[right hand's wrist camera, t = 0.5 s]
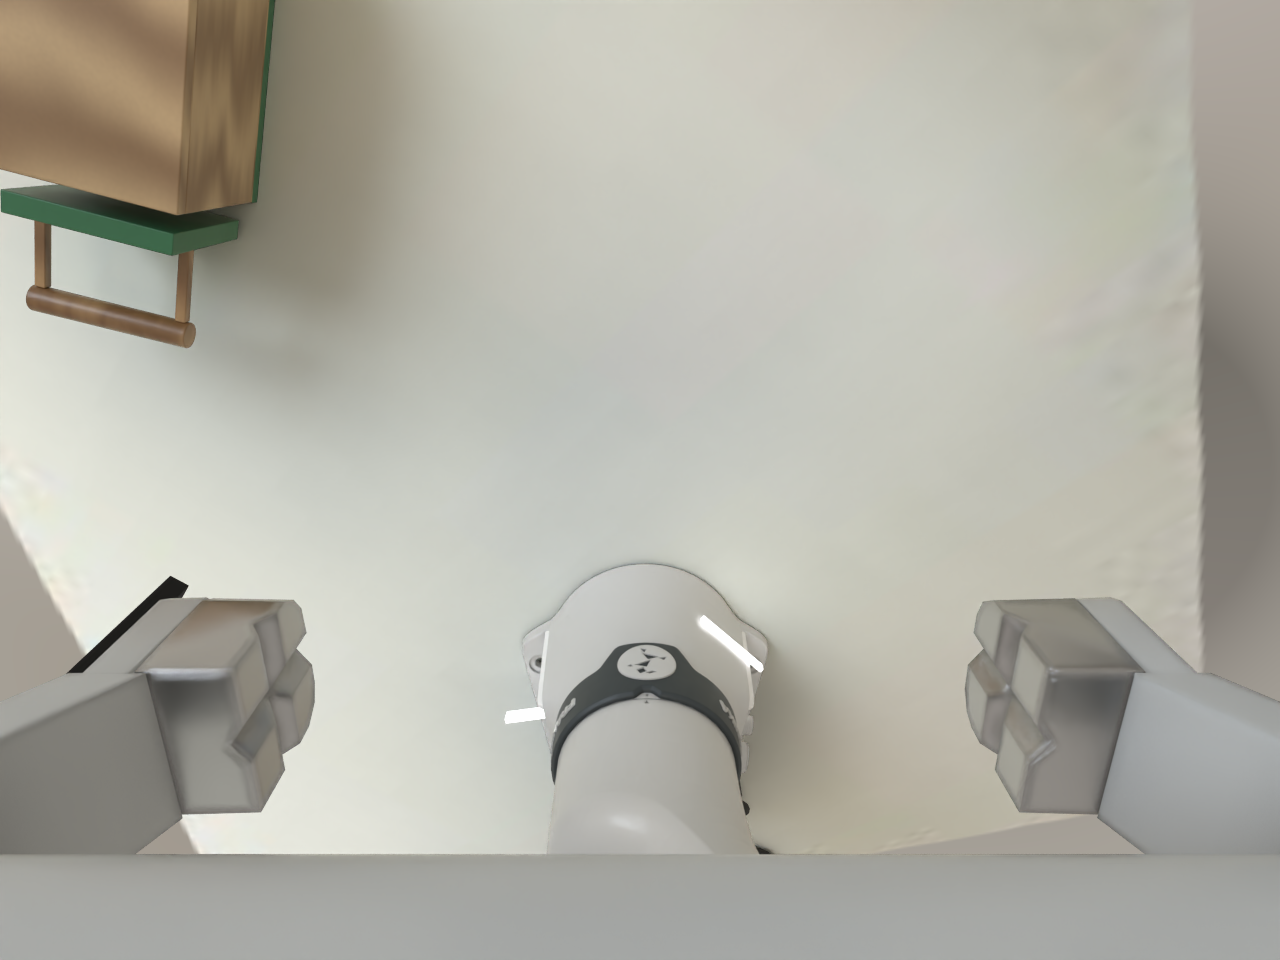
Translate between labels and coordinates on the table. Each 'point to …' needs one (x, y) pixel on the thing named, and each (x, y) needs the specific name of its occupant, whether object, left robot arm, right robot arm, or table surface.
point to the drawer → (123, 227)
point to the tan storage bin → (137, 97)
